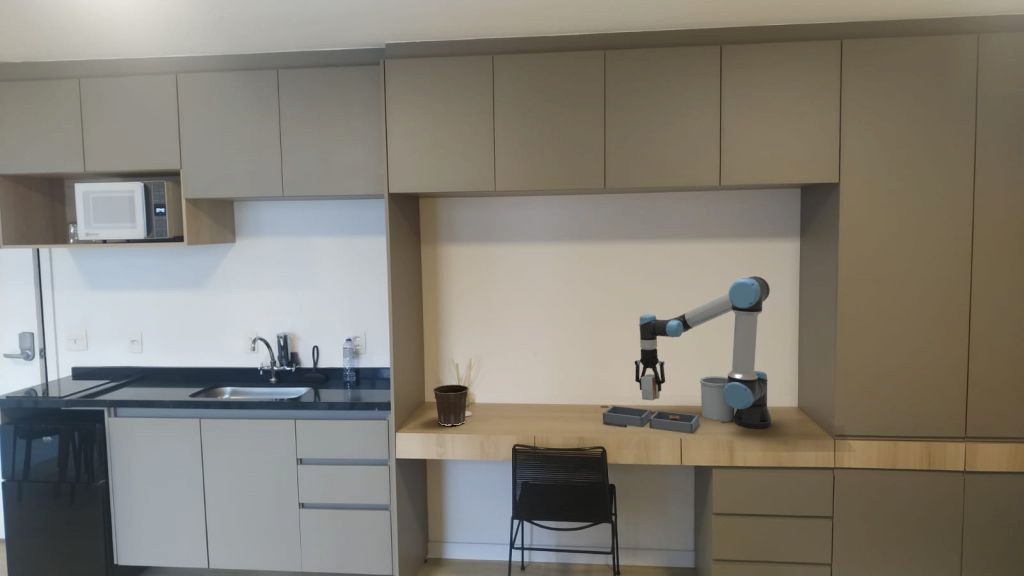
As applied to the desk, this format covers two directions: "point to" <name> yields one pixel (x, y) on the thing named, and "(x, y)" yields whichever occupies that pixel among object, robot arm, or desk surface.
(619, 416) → the bin
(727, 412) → the utensil holder
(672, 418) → the walnut block
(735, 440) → the desk surface
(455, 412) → the plant pot
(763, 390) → the robot arm
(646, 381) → the small box
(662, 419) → the bin
